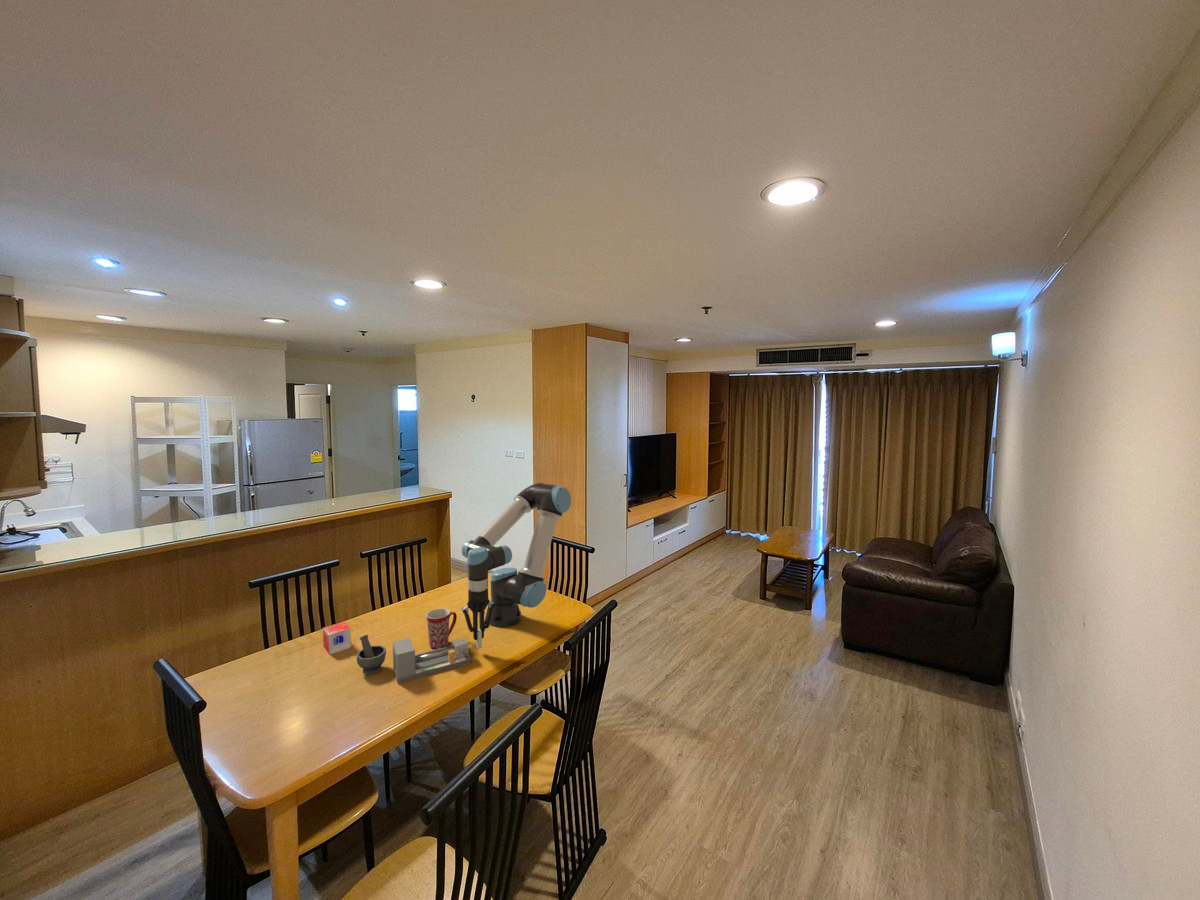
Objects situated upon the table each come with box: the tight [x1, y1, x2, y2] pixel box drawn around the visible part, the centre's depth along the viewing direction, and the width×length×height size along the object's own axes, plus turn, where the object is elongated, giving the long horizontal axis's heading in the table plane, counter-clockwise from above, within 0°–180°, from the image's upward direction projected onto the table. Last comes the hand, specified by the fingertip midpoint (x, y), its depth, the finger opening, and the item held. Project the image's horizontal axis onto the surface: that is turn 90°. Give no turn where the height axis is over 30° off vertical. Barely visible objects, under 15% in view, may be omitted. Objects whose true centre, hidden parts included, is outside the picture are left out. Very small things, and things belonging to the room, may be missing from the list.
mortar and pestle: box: [356, 634, 387, 676], centre depth 172 cm, size 11×9×12 cm
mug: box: [425, 608, 457, 650], centre depth 191 cm, size 13×9×14 cm
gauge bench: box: [392, 637, 472, 684], centre depth 175 cm, size 26×10×10 cm, turn 121°
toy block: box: [322, 621, 352, 655], centre depth 188 cm, size 8×8×8 cm
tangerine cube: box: [448, 649, 455, 663], centre depth 175 cm, size 2×2×4 cm
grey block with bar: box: [415, 637, 469, 662], centre depth 176 cm, size 20×7×5 cm, turn 121°
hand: (478, 646), depth 184 cm, fingers closed
